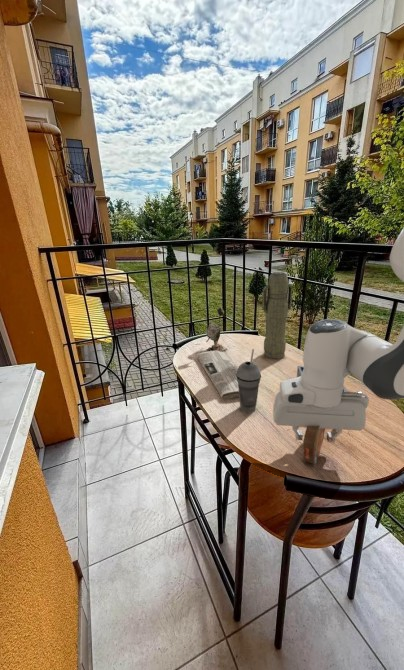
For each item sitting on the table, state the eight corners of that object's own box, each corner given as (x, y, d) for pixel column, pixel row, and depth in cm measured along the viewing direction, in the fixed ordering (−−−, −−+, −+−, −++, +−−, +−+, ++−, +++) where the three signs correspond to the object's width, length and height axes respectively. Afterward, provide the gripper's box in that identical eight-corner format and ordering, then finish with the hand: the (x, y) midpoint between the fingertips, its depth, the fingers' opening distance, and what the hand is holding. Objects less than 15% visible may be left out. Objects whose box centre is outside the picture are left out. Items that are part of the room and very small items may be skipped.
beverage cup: (241, 399, 90) (242, 342, 83) (263, 405, 87) (265, 346, 80) (231, 411, 84) (231, 351, 77) (254, 418, 81) (256, 355, 74)
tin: (313, 472, 62) (317, 442, 59) (299, 467, 64) (302, 437, 61) (325, 432, 74) (329, 405, 71) (312, 428, 76) (316, 402, 73)
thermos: (256, 353, 123) (259, 272, 111) (280, 349, 126) (285, 270, 114) (266, 361, 115) (270, 275, 103) (291, 357, 118) (298, 273, 106)
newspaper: (196, 357, 121) (196, 350, 120) (223, 353, 124) (223, 346, 123) (223, 401, 89) (223, 392, 88) (258, 395, 92) (259, 385, 91)
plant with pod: (216, 343, 136) (215, 303, 129) (229, 351, 127) (229, 308, 120) (201, 347, 132) (200, 306, 125) (214, 355, 123) (213, 311, 116)
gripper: (364, 385, 65) (355, 433, 69) (273, 381, 68) (271, 428, 73) (376, 400, 59) (365, 452, 64) (276, 395, 62) (273, 445, 67)
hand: (314, 439), depth 68 cm, fingers open, 6 cm apart
